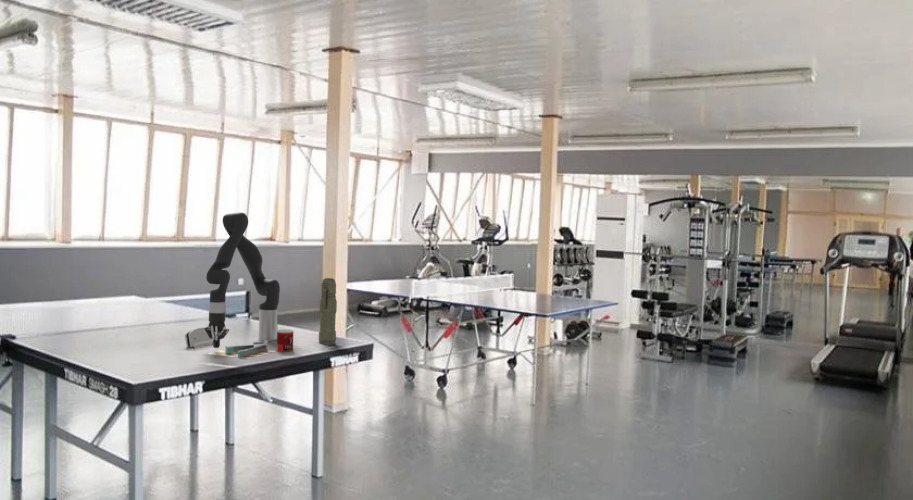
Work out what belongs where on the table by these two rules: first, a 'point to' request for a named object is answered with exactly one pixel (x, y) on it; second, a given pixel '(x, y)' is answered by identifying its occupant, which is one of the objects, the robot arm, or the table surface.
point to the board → (222, 353)
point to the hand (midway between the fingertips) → (216, 347)
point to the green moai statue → (328, 312)
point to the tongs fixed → (253, 350)
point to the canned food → (285, 340)
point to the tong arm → (239, 348)
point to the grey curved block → (198, 338)
